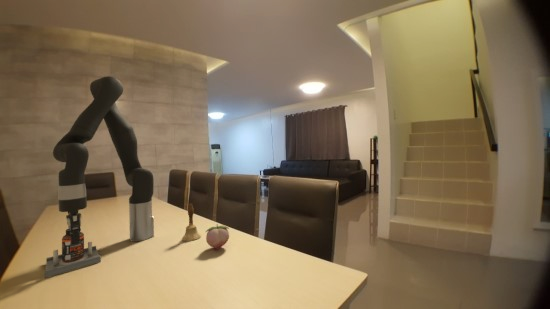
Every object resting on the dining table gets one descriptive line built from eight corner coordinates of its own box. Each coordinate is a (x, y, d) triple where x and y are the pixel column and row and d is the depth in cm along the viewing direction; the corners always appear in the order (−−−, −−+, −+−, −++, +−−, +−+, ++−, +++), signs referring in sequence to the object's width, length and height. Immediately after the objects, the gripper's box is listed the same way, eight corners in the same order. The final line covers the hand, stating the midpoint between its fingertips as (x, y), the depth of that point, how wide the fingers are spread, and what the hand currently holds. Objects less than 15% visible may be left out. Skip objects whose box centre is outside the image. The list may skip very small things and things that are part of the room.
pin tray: (96, 251, 88) (95, 236, 88) (100, 261, 79) (100, 245, 79) (46, 263, 78) (46, 247, 78) (45, 278, 68) (44, 259, 69)
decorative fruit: (226, 242, 93) (226, 219, 93) (231, 249, 86) (230, 224, 86) (204, 246, 89) (203, 223, 89) (207, 254, 82) (206, 228, 82)
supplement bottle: (70, 263, 75) (69, 231, 75) (57, 262, 76) (56, 231, 76) (88, 255, 81) (87, 226, 81) (76, 254, 82) (75, 225, 82)
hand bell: (178, 239, 99) (177, 205, 99) (193, 233, 106) (192, 201, 106) (189, 242, 94) (188, 206, 95) (204, 236, 101) (203, 203, 102)
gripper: (88, 197, 76) (90, 242, 76) (84, 193, 86) (86, 233, 86) (58, 201, 71) (61, 249, 71) (58, 196, 81) (59, 239, 81)
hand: (74, 240), depth 79 cm, fingers open, 8 cm apart
